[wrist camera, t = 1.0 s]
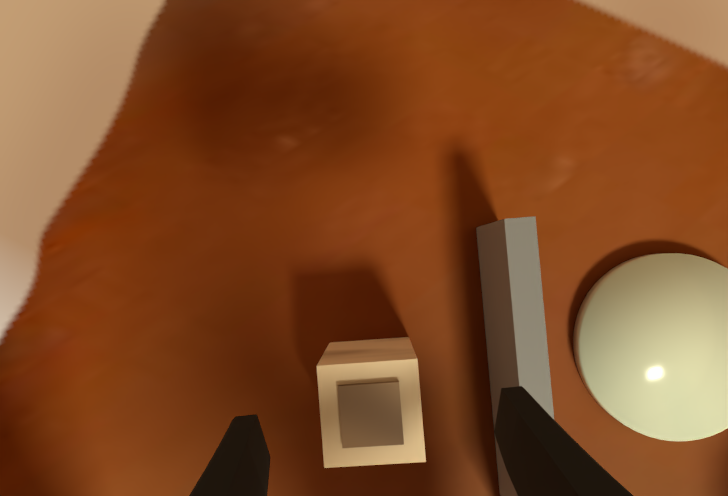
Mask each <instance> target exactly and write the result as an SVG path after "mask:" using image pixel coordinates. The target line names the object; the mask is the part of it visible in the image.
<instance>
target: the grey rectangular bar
mask: <svg viewBox="0 0 728 496" xmlns="http://www.w3.org/2000/svg"><path fill="white" fill-rule="evenodd" d="M476 231H477V243H478V254H479V265H480V277H481V288H482V299H483V311H484V322H485V333H486V345H487V356H488V367H489V379H490V390H491V401H492V413H493V424H494V429H495V423H496V417H497V411H498V405H499V399H500V393H501V388H508V387H517V386H522V387H523V388H525V389H526V391H527V392H528V393H529V394H530V395H531V396H532V397H533V398H534V399H535V400H536V401H537V402H538V403H539V404H540V405H541V407H542V408H543V409H544V410H545V411H546V412H547V413H548V414H549V415H550V416H551V417H552V418H553V419H554V412H553V401H552V390H551V380H550V369H549V358H548V347H547V337H546V326H545V315H544V304H543V294H542V283H541V272H540V261H539V251H538V240H537V229H536V218H535V217H523V218H510V219H503V220H499V221H496V222H493V223H489V224H486V225H483V226H479V227H476ZM494 435H495V434H494ZM495 447H496V458H497V469H498V481H499V492H500V496H518V495H517V493H516V490H515V488H514V486H513V484H512V481H511V479H510V477H509V475H508V472H507V470H506V467H505V464H504V461H503V458H502V455H501V452H500V449H499V446H498V443H497V440H496V437H495Z"/></svg>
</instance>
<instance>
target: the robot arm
mask: <svg viewBox="0 0 728 496" xmlns="http://www.w3.org/2000/svg"><path fill="white" fill-rule="evenodd" d="M494 434H495V437H496V440H497V443H498V446H499V449H500V452H501V455H502V458H503V461H504V464H505V467H506V470H507V472H508V475H509V477H510V479H511V481H512V484H513V486H514V488H515V490H516V493H517V495H518V496H633V495H632V494H631V493H630V492H629V491H627V490H626V489H625V488H624V487H623V486H622V485H621V484H620V483H619V482H618V481H616V480H615V479H614V478H613V477H612V476H611V475H610V474H609V473H608V472H607V471H606V470H604V469H603V468H602V467H601V466H600V465H599V464H598V463H597V462H596V461H595V460H594V459H593V458H592V457H591V456H590V455H589V454H588V453H587V452H586V451H585V450H584V449H583V448H582V447H581V446H580V445H579V444H578V443H576V442H575V441H574V440H573V439H572V438H571V437H570V436H569V435H568V434H567V433H566V432H565V431H564V429H563V428H562V427H561V426H560V425H559V424H558V423H557V422H556V421H555V420H554V419H553V418H552V417H551V416H550V415H549V414H548V413H547V412H546V411H545V410H544V409H543V408H542V407H541V405H540V404H539V403H538V402H537V401H536V400H535V399H534V398H533V397H532V396H531V395H530V394H529V393H528V392H527V391H526V389H525V388H523V387H522V386H517V387H508V388H501V393H500V399H499V405H498V411H497V417H496V423H495V429H494ZM269 467H270V455H269V451H268V448H267V445H266V442H265V439H264V436H263V432H262V429H261V426H260V423H259V420H258V417H257V415H247V416H238V417H235V418H234V419H233V420H232V422H231V424H230V426H229V428H228V430H227V432H226V433H225V435H224V437H223V439H222V441H221V443H220V444H219V446H218V448H217V450H216V452H215V453H214V455H213V457H212V459H211V460H210V462H209V464H208V466H207V467H206V469H205V471H204V472H203V474H202V476H201V477H200V479H199V481H198V482H197V484H196V486H195V487H194V489H193V491H192V492H191V494H190V495H189V496H267V489H268V479H269Z"/></svg>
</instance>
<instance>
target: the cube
mask: <svg viewBox="0 0 728 496" xmlns="http://www.w3.org/2000/svg"><path fill="white" fill-rule="evenodd" d="M317 379H318V392H319V406H320V419H321V432H322V446H323V459H324V468H333V467H350V466H367V465H384V464H400V463H417V462H426V456H425V444H424V432H423V419H422V407H421V395H420V383H419V371H418V359H417V356H416V354H415V351H414V349H413V346H412V344H411V341H410V339H409V337H400V338H386V339H372V340H358V341H344V342H330V343H329V344H328V346H327V348H326V350H325V352H324V353H323V355H322V357H321V359H320V360H319V362H318V364H317Z"/></svg>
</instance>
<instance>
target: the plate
mask: <svg viewBox="0 0 728 496" xmlns="http://www.w3.org/2000/svg"><path fill="white" fill-rule="evenodd" d="M573 350H574V357H575V362H576V365H577V369H578V372H579V375H580V377H581V379H582V381H583V384H584V385H585V387H586V388H587V390H588V392H589V393H590V395H591V396H592V397H593V398H594V400H595V401H596V402H597V403H598V404H599V405H600V406H601V407H602V408H603V409H604V410H605V411H606V412H607V413H608V414H610V415H611V416H613V417H614V418H615V419H617V420H618V421H620V422H621V423H623V424H624V425H626V426H627V427H629V428H631V429H633V430H634V431H636V432H639V433H641V434H644V435H646V436H649V437H653V438H657V439H661V440H668V441H691V440H698V439H702V438H706V437H710V436H712V435H715V434H717V433H720V432H722V431H724V430H725V429H727V428H728V269H727V268H725V267H723V266H721V265H719V264H718V263H716V262H713V261H711V260H708V259H705V258H703V257H699V256H694V255H689V254H681V253H661V254H649V255H643V256H639V257H636V258H632V259H630V260H628V261H625V262H623V263H621V264H619V265H617V266H616V267H614V268H612V269H611V270H609V271H608V272H607V273H606V274H604V275H603V276H602V277H601V278H600V279H599V280H598V281H597V282H596V283H595V284H594V285H593V286H592V288H591V289H590V291H589V292H588V293H587V295H586V297H585V298H584V300H583V302H582V304H581V306H580V309H579V311H578V314H577V317H576V321H575V326H574V334H573Z"/></svg>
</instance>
